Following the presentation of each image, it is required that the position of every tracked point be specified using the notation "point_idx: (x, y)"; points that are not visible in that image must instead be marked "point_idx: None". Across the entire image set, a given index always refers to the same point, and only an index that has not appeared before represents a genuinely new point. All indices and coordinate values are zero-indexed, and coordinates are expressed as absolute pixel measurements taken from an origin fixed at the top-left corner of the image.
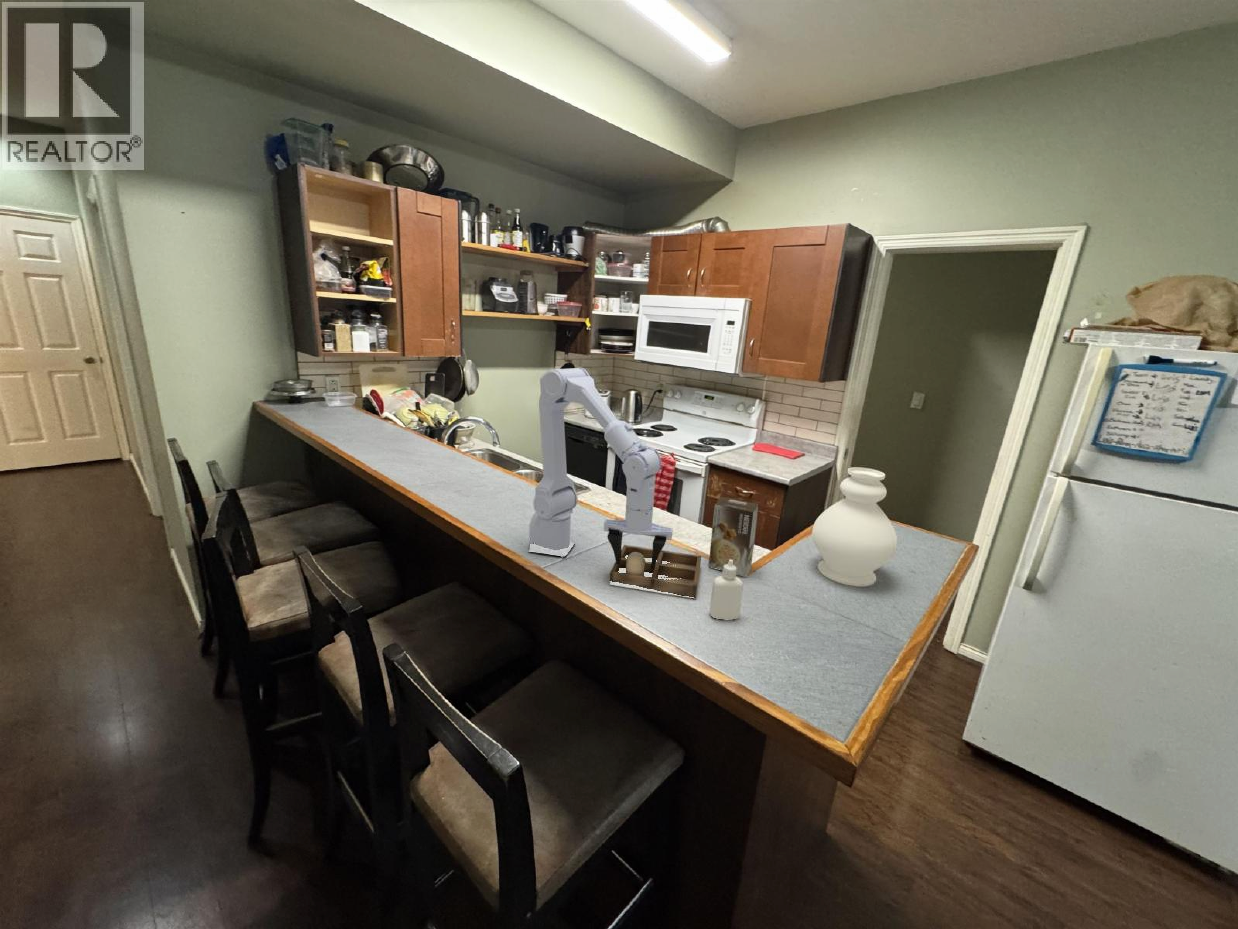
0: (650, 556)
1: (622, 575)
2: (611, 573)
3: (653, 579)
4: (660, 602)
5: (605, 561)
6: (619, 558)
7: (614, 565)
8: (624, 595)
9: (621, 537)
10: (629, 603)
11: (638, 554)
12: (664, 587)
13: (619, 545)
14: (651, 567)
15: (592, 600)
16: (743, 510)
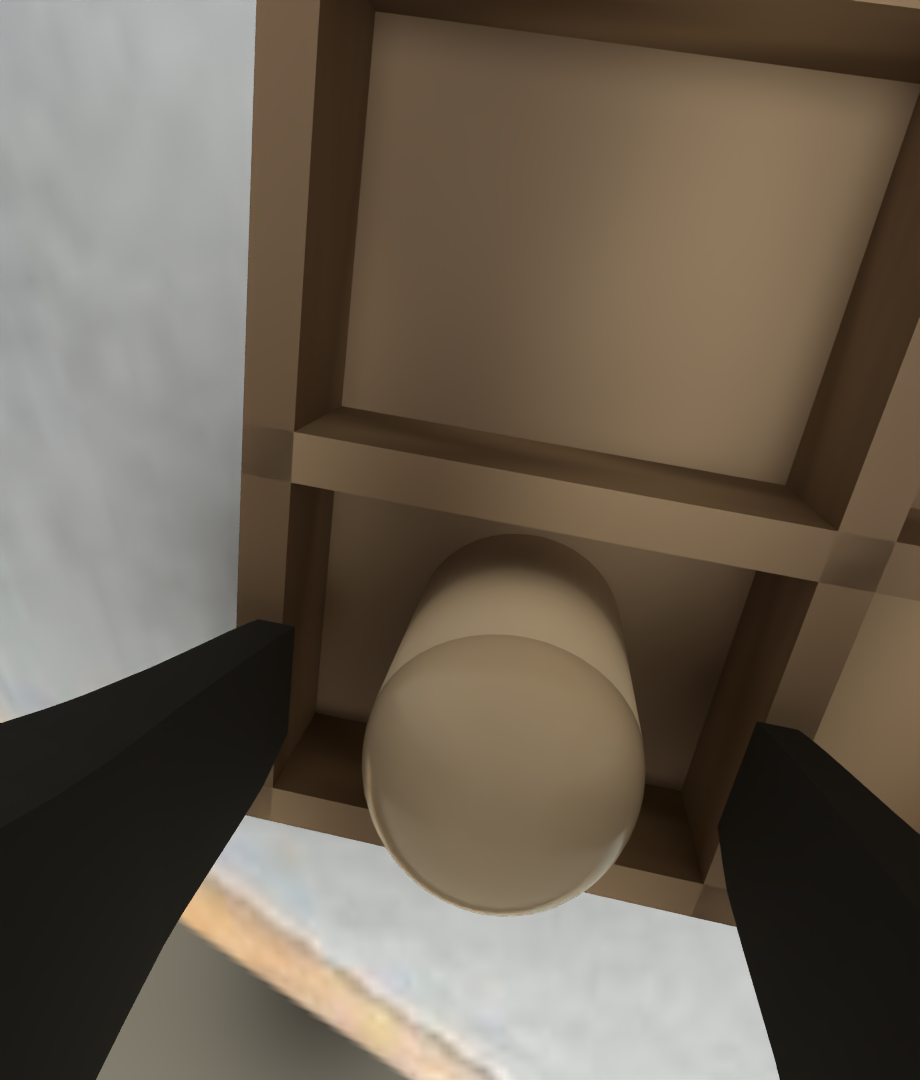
0: (785, 48)
1: (371, 838)
2: (249, 811)
3: (723, 917)
4: None
5: (137, 200)
6: (255, 762)
7: None
8: None
9: (25, 914)
10: (484, 936)
11: (530, 891)
12: None
13: (119, 939)
14: (730, 859)
15: (209, 904)
16: None
